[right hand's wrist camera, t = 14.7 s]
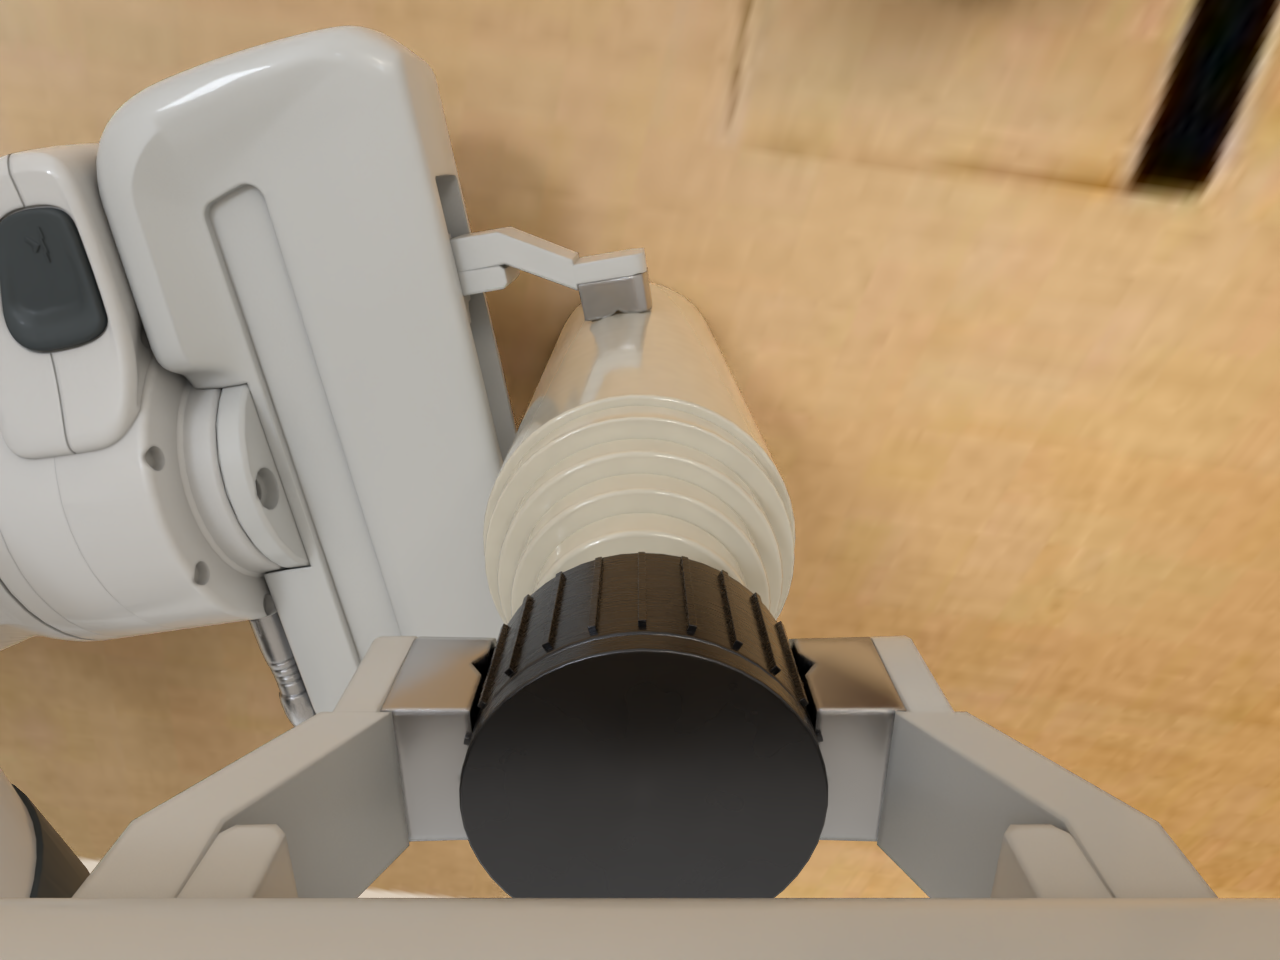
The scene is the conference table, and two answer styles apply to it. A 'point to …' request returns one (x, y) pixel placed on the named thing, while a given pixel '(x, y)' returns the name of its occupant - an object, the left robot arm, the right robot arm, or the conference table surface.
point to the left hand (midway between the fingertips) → (668, 400)
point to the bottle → (638, 461)
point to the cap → (643, 740)
